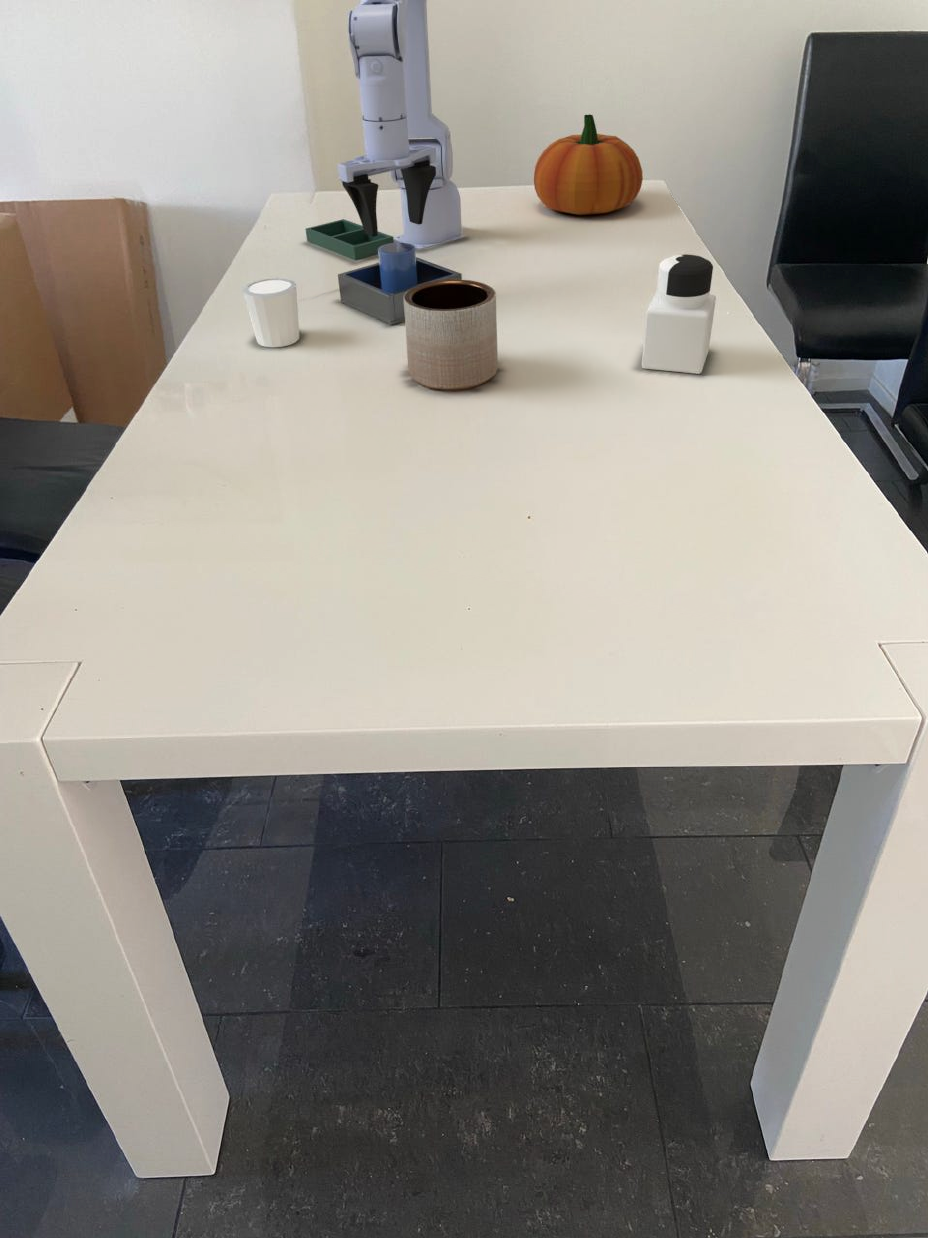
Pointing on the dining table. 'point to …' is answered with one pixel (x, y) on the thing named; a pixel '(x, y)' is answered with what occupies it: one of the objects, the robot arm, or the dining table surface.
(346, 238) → the divided tray
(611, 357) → the dining table surface
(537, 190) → the pumpkin
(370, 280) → the dark gray square tray
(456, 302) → the planter
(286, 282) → the white jar candle
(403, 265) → the cup
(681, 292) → the medicine bottle
